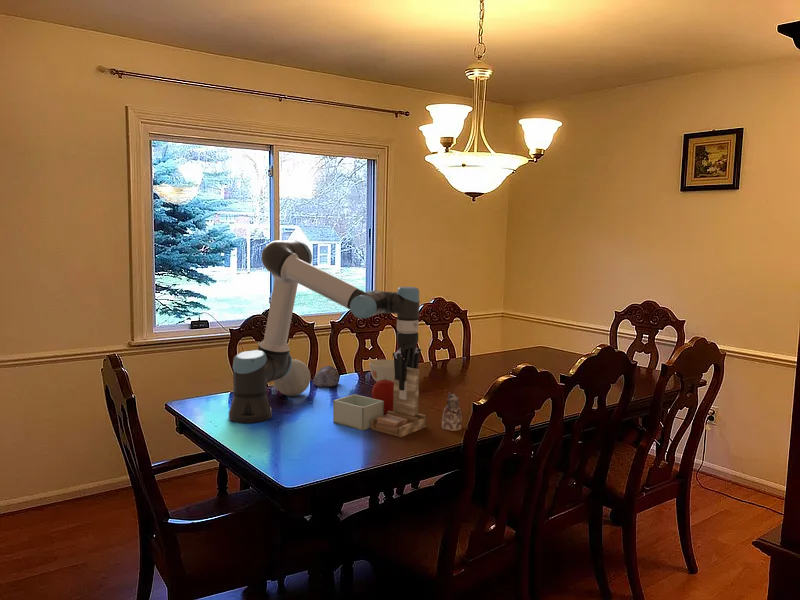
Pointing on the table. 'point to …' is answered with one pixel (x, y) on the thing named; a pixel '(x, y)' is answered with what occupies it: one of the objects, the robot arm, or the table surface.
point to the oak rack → (414, 425)
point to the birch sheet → (412, 393)
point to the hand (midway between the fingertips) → (405, 398)
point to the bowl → (382, 369)
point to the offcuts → (390, 423)
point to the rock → (326, 377)
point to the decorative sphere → (294, 379)
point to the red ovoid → (384, 393)
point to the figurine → (452, 414)
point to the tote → (357, 411)
